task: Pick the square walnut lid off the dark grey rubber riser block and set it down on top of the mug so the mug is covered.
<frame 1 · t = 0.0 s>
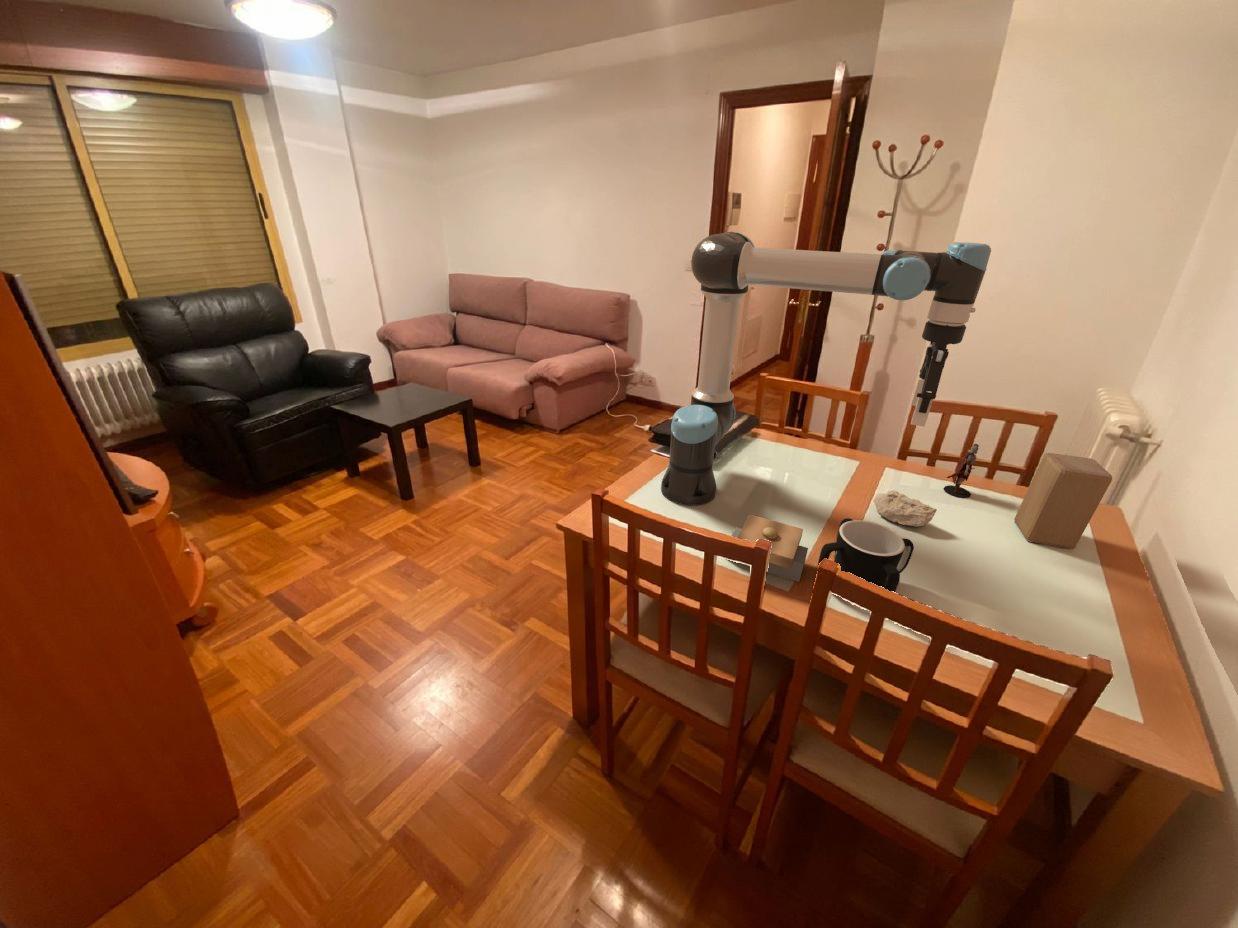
hand: (917, 415, 116), 28 cm above the table, fingers open, 13 cm apart
wooden block: (1041, 535, 123), on the table
riser: (764, 562, 111), on the table
mug: (857, 583, 106), on the table
figurine: (955, 492, 140), on the table
stone: (897, 519, 128), on the table
lid: (768, 544, 109), point 5 cm above the table, touching riser
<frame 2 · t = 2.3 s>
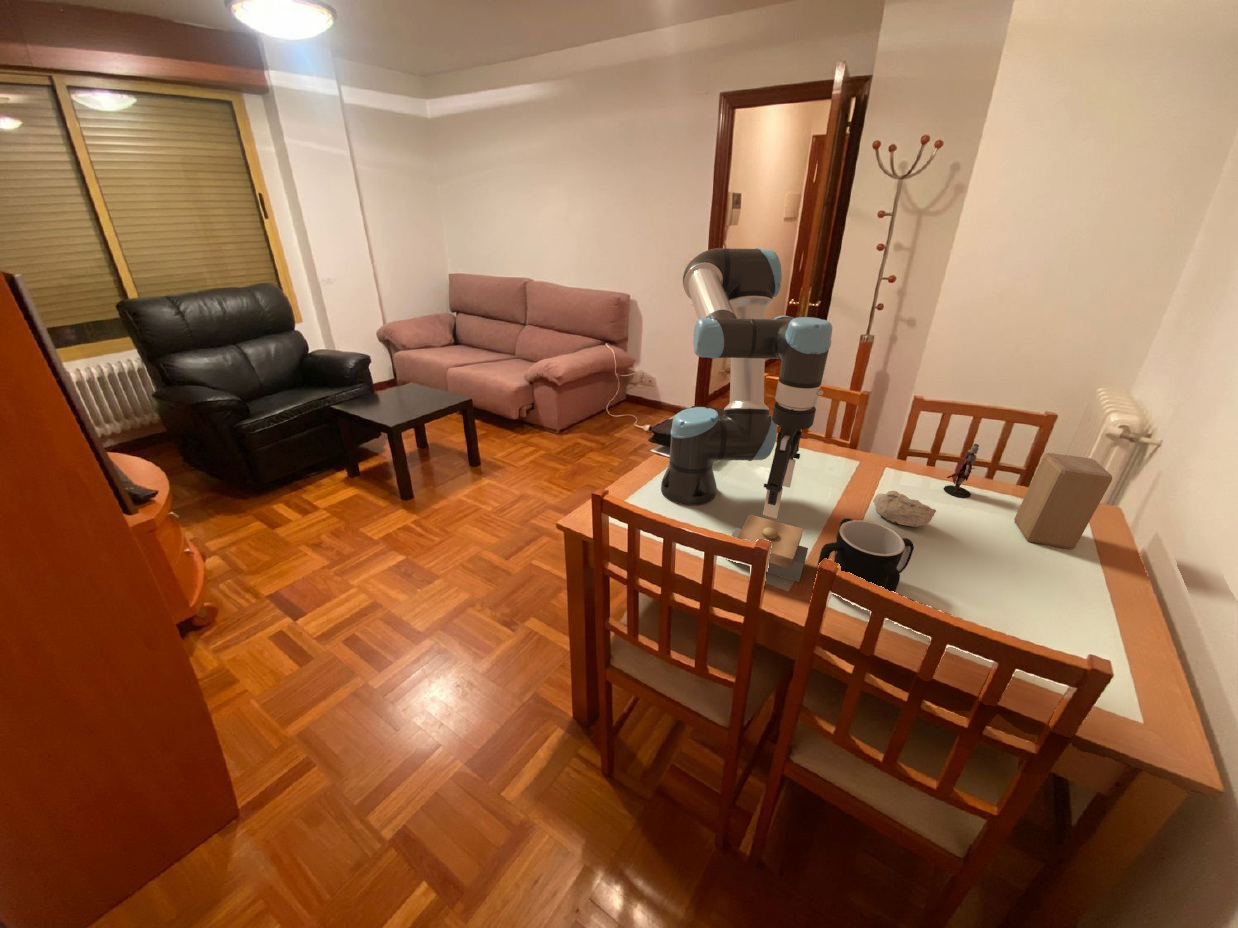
hand: (777, 500, 104), 16 cm above the table, fingers open, 13 cm apart
nothing on the table moved.
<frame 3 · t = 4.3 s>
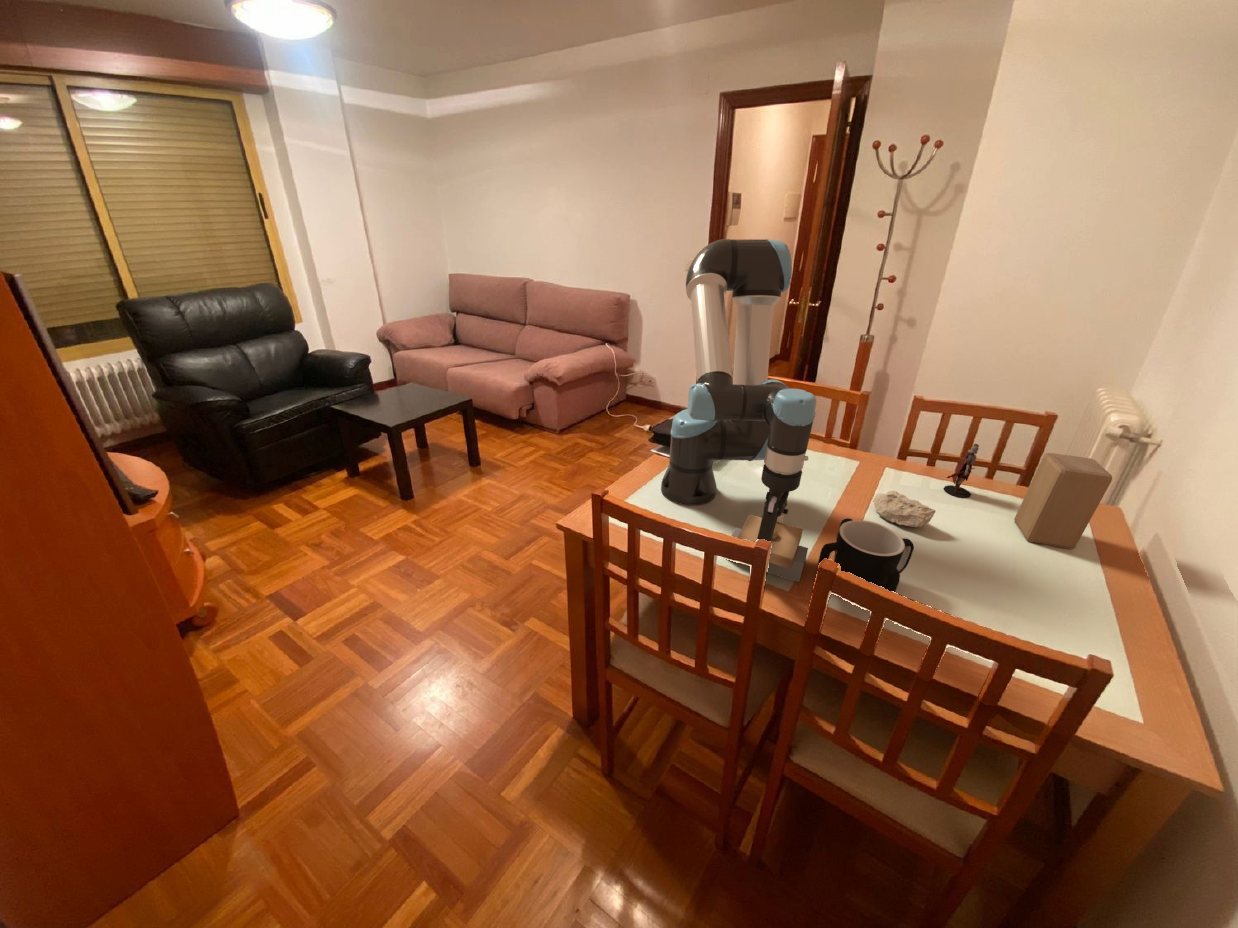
hand: (766, 552, 110), 3 cm above the table, fingers closed on lid, 12 cm apart
lid: (768, 544, 109), point 5 cm above the table, touching gripper, riser
everything else where it was.
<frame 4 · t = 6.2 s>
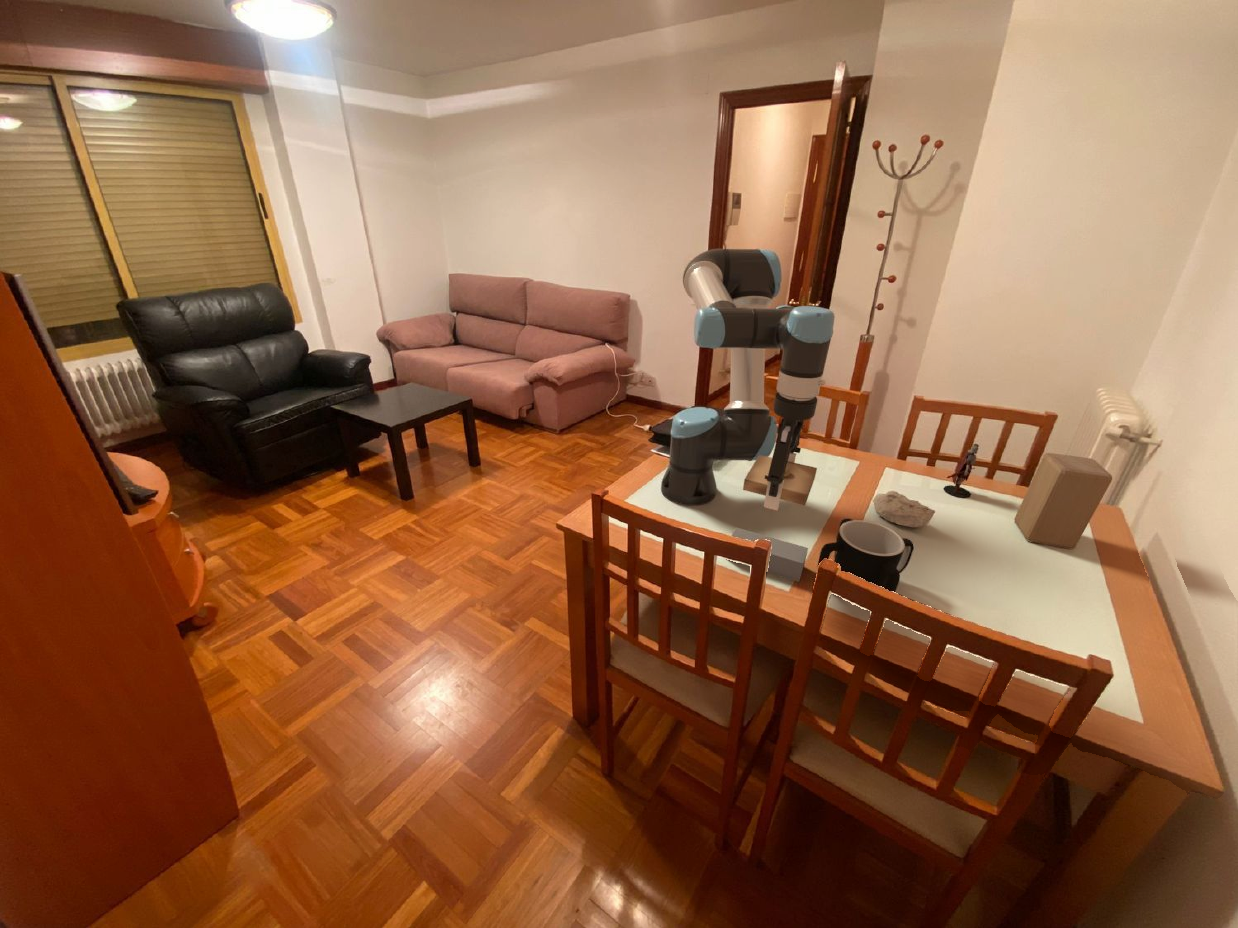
hand: (777, 493, 103), 18 cm above the table, fingers closed on lid, 12 cm apart
lid: (779, 483, 102), point 20 cm above the table, touching gripper
everything else where it was.
when the fingers open (13 cm above the table, at t = 8.4 s): lid drops 3 cm, resting on mug.
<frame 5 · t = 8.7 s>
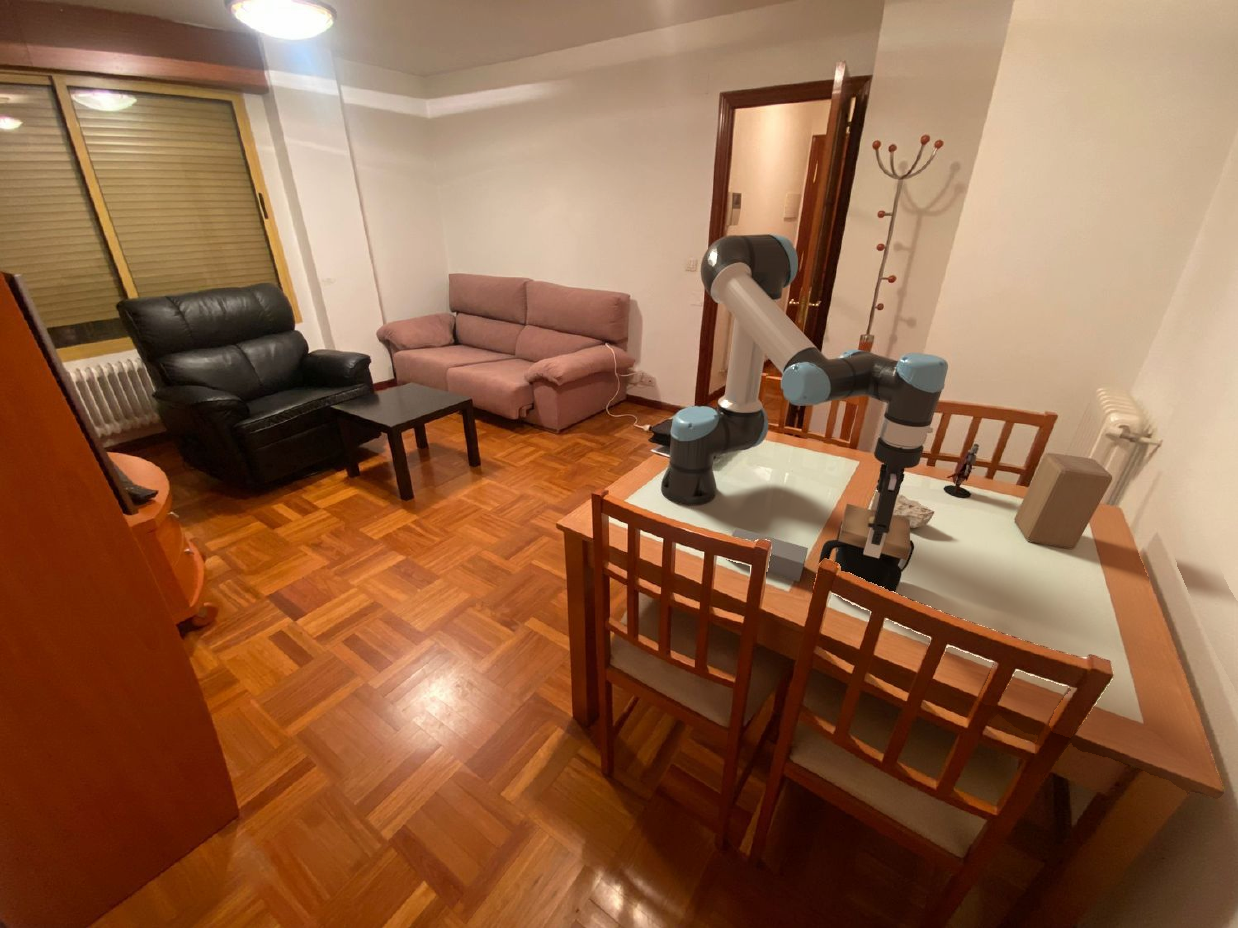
hand: (873, 536, 100), 12 cm above the table, fingers open, 13 cm apart
mug: (857, 582, 106), on the table, touching gripper, lid
lid: (873, 535, 101), point 12 cm above the table, touching mug
everything else where it was.
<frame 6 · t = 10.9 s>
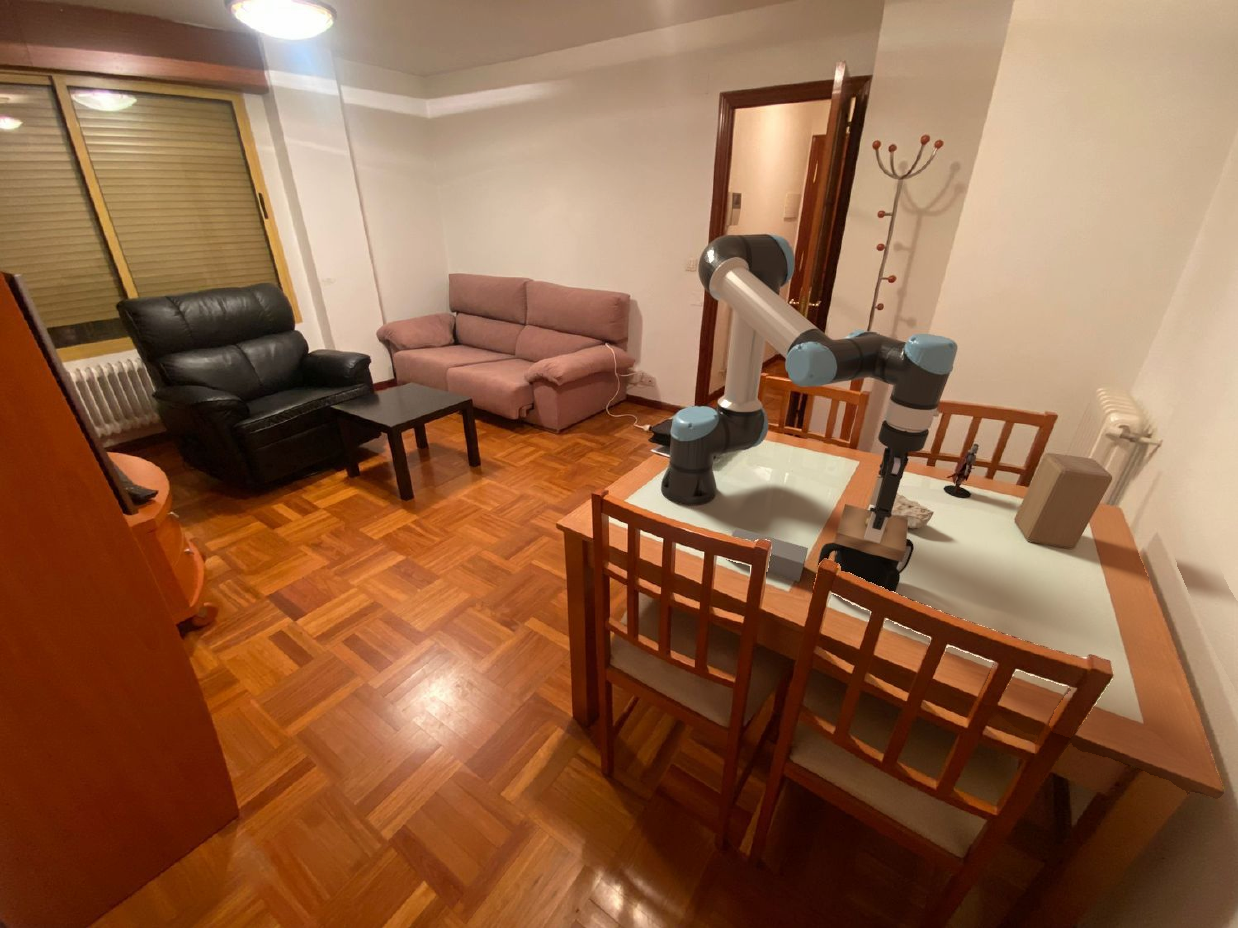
hand: (874, 521, 99), 15 cm above the table, fingers open, 13 cm apart
mug: (857, 583, 106), on the table, touching lid
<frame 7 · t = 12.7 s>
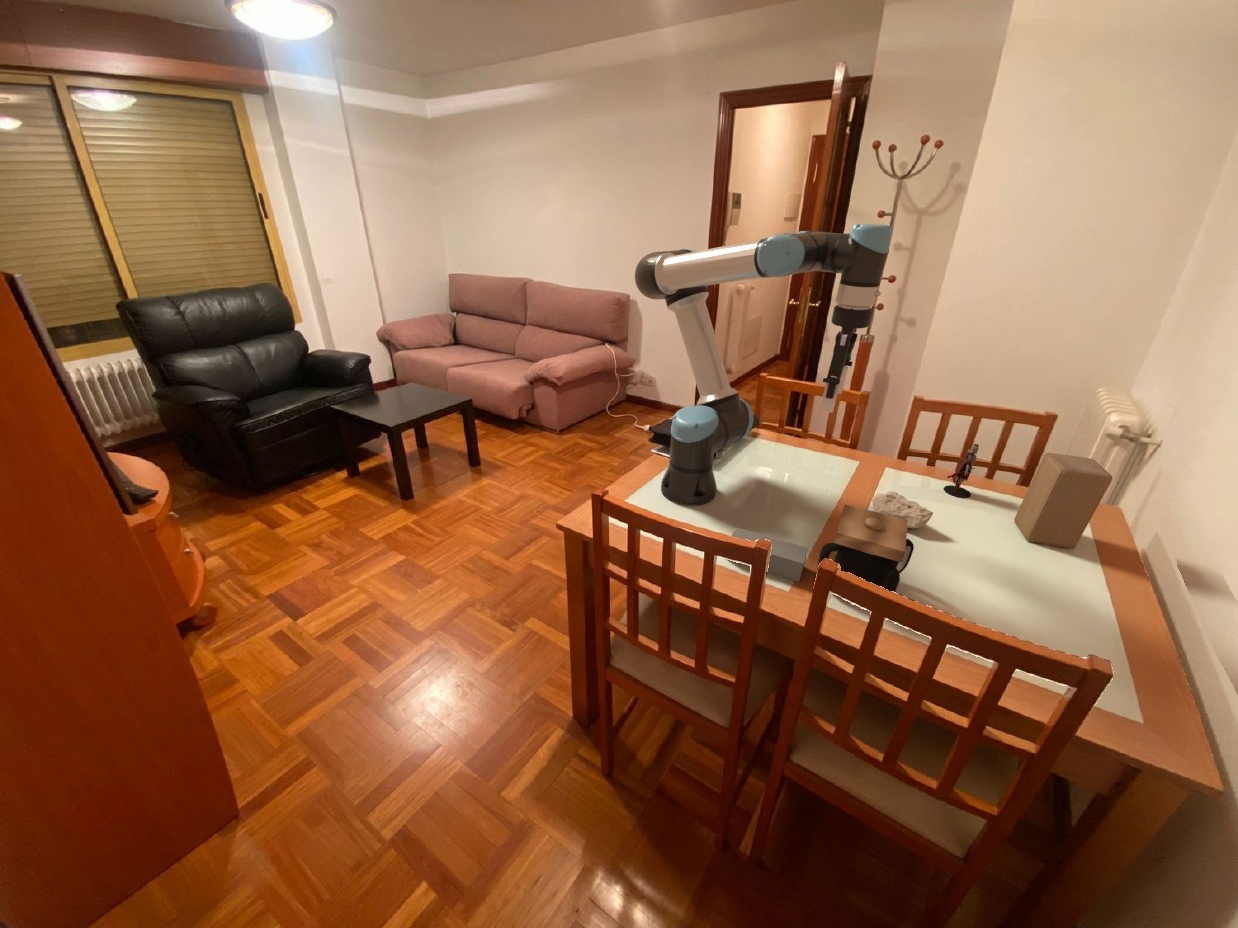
hand: (831, 401, 114), 31 cm above the table, fingers open, 13 cm apart
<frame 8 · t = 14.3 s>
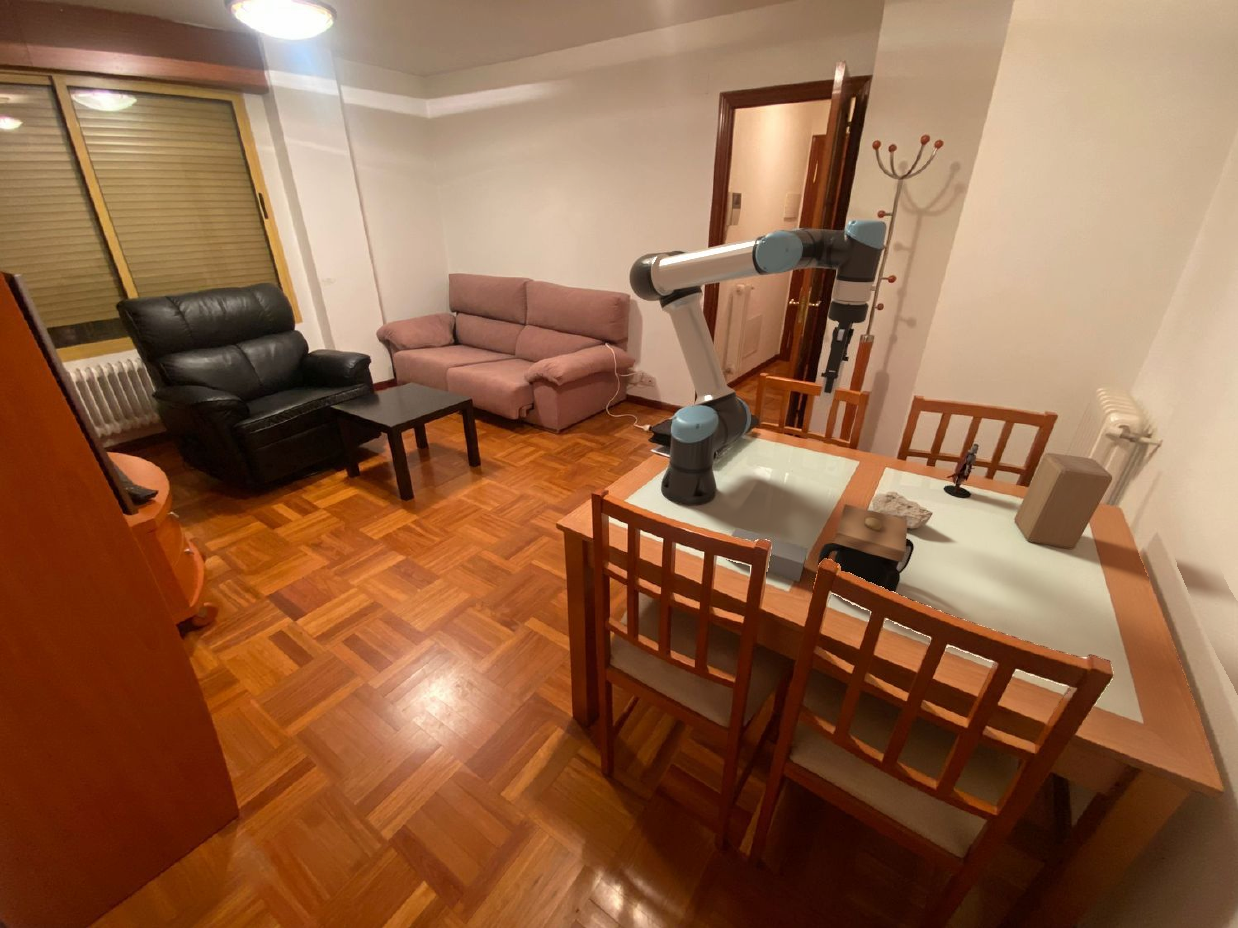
hand: (828, 396, 115), 32 cm above the table, fingers open, 13 cm apart
at the end: lid 0.3 cm from the mug (horizontally); lid point 11.9 cm above the table; mug tilted 0° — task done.
